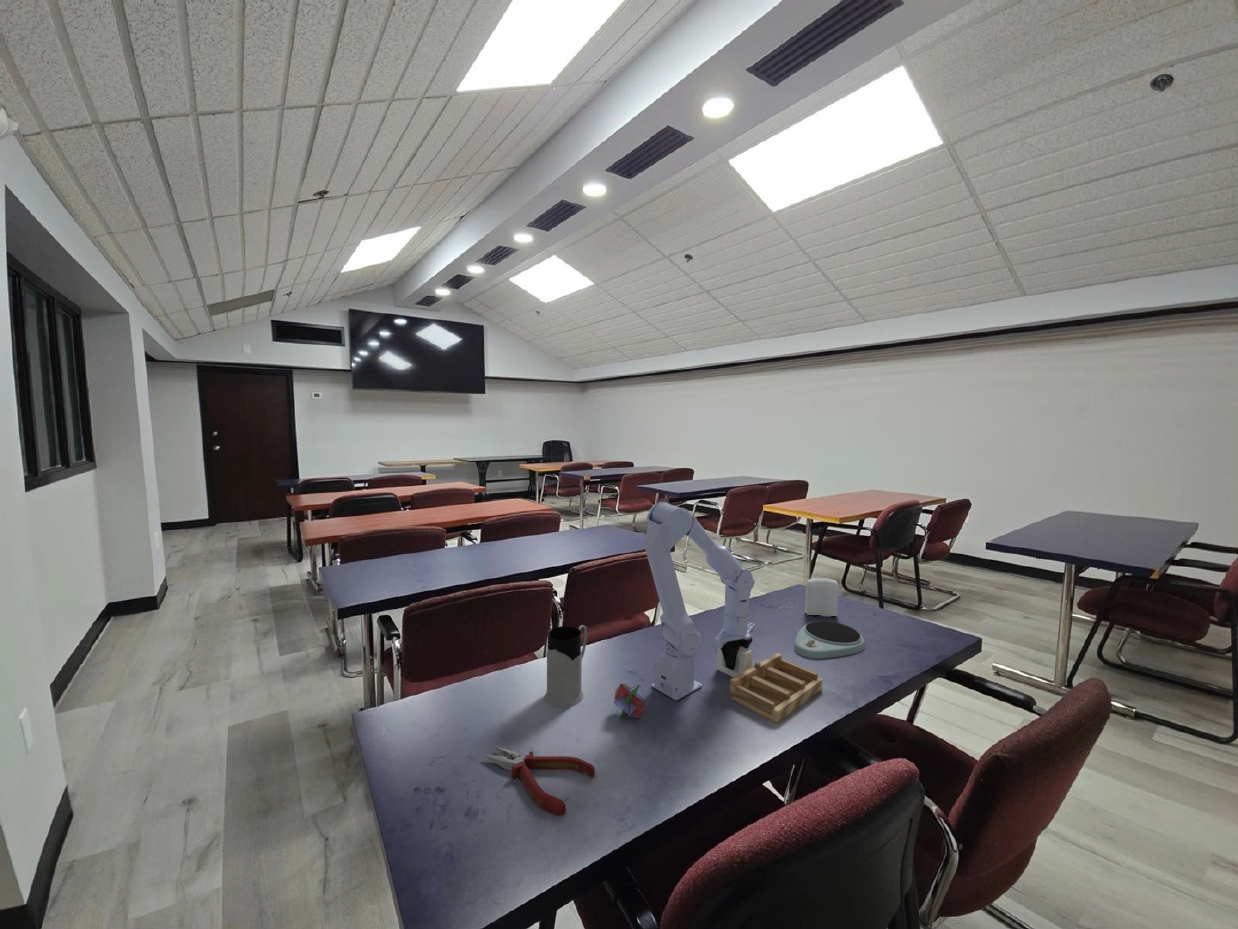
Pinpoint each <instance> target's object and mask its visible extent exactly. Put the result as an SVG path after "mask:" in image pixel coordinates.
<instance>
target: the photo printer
mask: <svg viewBox="0 0 1238 929" xmlns="http://www.w3.org/2000/svg"><path fill="white" fill-rule="evenodd" d="M804 599H805V600H804V601H805V602H804V614H805V613H807V614H809V615H821V616H820V617H831V616H836V617H838V607H839V606H838V604H839V584H838V581H837V580H836V579H831V578H827V577H814V578H810V579H807V580H806V582H805V597H804Z"/></svg>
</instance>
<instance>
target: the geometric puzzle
mask: <svg viewBox="0 0 1238 929" xmlns="http://www.w3.org/2000/svg"><path fill="white" fill-rule="evenodd" d="M631 685H635V684H631ZM633 688H634V689H633ZM639 689H641V692H643V690H642V689H643V688H641V684H637V685H635V686H632V687H629V685H628V684H627V683H620V684H619V685H618V686H617V687H616V688H615V690H614V691H615V693H614V698H613V702H612V703H613V704H614V706H615V707H617V708H616V713H617V715H619V711H618V708H619V709H621V710H622V711H621V713H620V716H619V719H623V718H625V717H626V715H625V714H627V719H629V717H632V718H633V719H636V720H640V718H641V715H642V713H643V710H644V708H645V706H646V701H647V700H646V699H645V696H641V695H640V694H638V693H637V692H638V690H639ZM632 715H633V716H632Z"/></svg>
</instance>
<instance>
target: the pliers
mask: <svg viewBox="0 0 1238 929" xmlns="http://www.w3.org/2000/svg"><path fill="white" fill-rule="evenodd" d="M494 750H496V751H497V752H498V753H499V754H501V755H495V754H494V755H493V754H484V758H486V759H488V760H489V761H491V762H493V763H495V764H496V765H498V766H499V767H501V768H503V769H504V770H508V771H511V779H512V781H516V780H517V779H520V780H521V783H522V784H523V785H524V787H525V789H526V791H527V792H528V795H529V796H530V797H531V799H532V800H533V802H534V803H535V804H536V805H537V807H539V808H540V809H542V810H544V811H545V812H549V813H551V814H553V815H555V816H561V817H562V816H564V814H565V813H566V811H567V805H566V803H565V802H564V801H563V800H562V799H561V798H558V797H556V796H553V795H552V794H549V793H547V792H545V791H544V790H543V789H542V788H541V786H540V785H539V783H538V782H537V781H536V779H535V776H534V775H533V774H532V772H531V771H530V770H568V771H574V772H578V773H580V774H582V775H584V776H586V777H588V778H591V779H593V778H594V777H595V774H596V768H595V766H594V765H593V764H592V763H590V762H587V761H585V760H584V759H581V758H578V757H575V756H566V755H565V756H561V755H559V756H557V755H556V756H555V755H553V756H552V755H551V756H549V755H548V756H542V755H541V756H539V755H538V756H537V755H536V756H534V750H533V751H531V750H530V751H529V752H528V754H527V755H525V756H521V754H520V753H518V752H516V751H514V750H509V749H505V748H502V747H498V746H495V747H494Z"/></svg>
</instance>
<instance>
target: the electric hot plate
mask: <svg viewBox="0 0 1238 929" xmlns="http://www.w3.org/2000/svg"><path fill="white" fill-rule="evenodd" d="M865 644H866V643H865V638H864V637H863V635H862V634H861V633H860V632H859V631H858V630H856V629H855V628H853V627H851V626H848V625H847V624H843V623H840V622H834V621H828V620H815V621H810V622H808V623H806V624H805V625H803V626H802V627H801V628H800V630H799V631H798V632H797V635H796V638H795V641H794V645H793V649H794V651H795V653H796V654H798V655H800V656H803V657H804V658H809V659H816V660H817V659H829V658H836V657H837V658H838V657H844V656H849V655H854V654H858V653H860V652H862V651H863V650H864V649H866V645H865Z"/></svg>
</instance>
